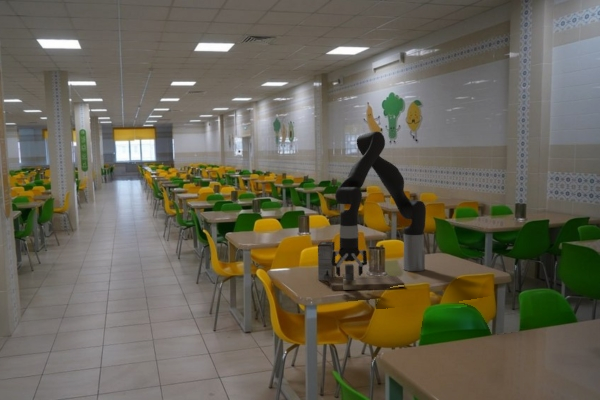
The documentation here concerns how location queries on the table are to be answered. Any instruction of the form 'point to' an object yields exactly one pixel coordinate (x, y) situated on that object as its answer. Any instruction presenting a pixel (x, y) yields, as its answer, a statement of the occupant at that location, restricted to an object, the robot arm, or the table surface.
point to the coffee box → (325, 260)
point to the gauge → (349, 278)
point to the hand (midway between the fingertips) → (349, 275)
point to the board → (367, 282)
